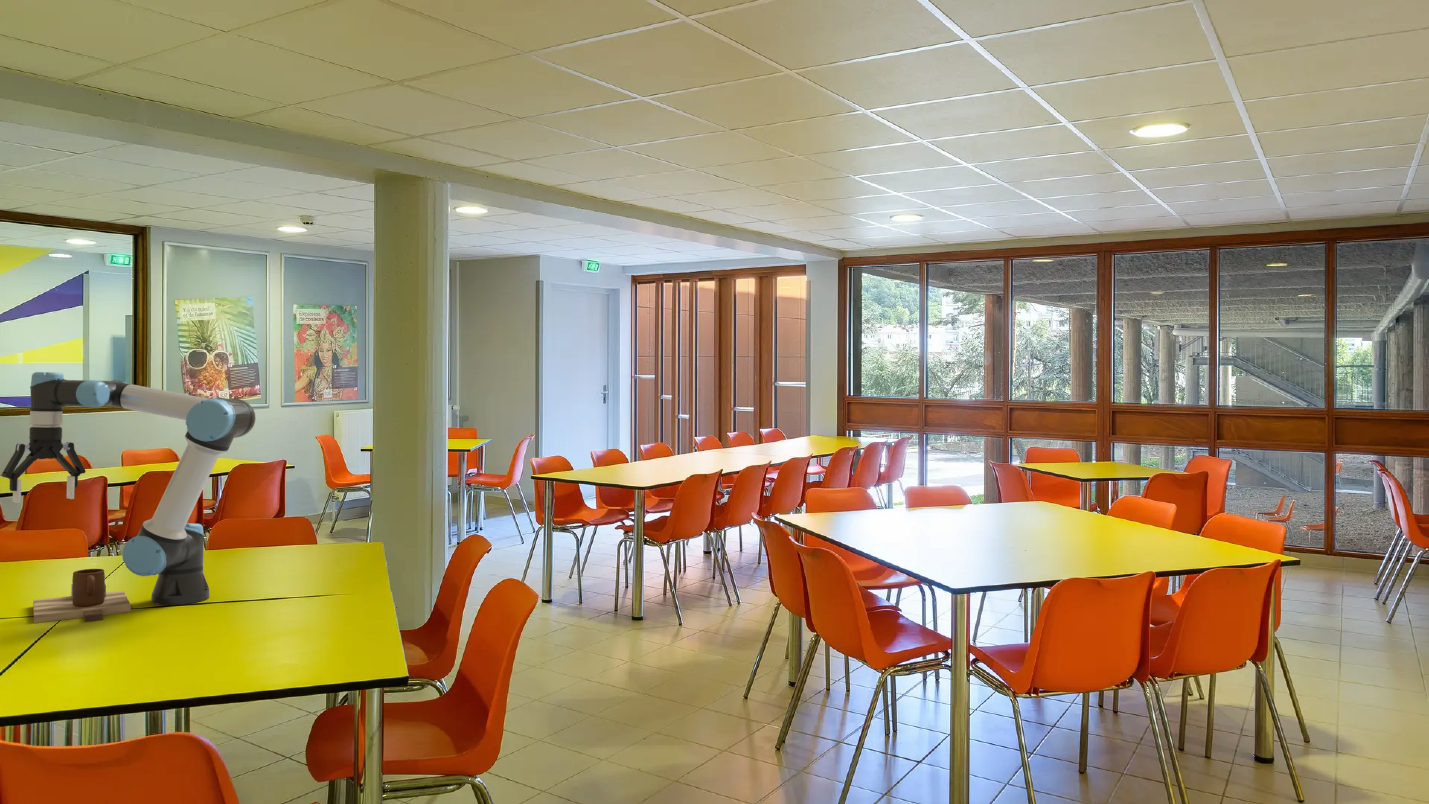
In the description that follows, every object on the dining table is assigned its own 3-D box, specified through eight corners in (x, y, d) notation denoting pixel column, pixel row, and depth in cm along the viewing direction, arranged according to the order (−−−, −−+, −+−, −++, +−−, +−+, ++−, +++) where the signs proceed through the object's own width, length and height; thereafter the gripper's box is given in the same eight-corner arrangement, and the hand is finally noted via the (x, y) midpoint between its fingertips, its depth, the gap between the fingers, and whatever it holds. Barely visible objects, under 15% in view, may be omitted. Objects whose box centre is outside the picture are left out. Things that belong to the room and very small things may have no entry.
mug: (107, 607, 257) (108, 574, 257) (74, 611, 252) (74, 577, 252) (103, 599, 266) (103, 567, 266) (71, 603, 261) (71, 570, 261)
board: (33, 606, 265) (33, 599, 265) (123, 597, 278) (123, 590, 278) (34, 627, 242) (34, 620, 242) (132, 616, 256) (132, 609, 256)
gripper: (86, 424, 275) (84, 495, 275) (-12, 426, 253) (-14, 503, 253) (100, 426, 271) (98, 497, 271) (1, 427, 249) (-1, 505, 249)
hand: (44, 500), depth 262 cm, fingers open, 13 cm apart
